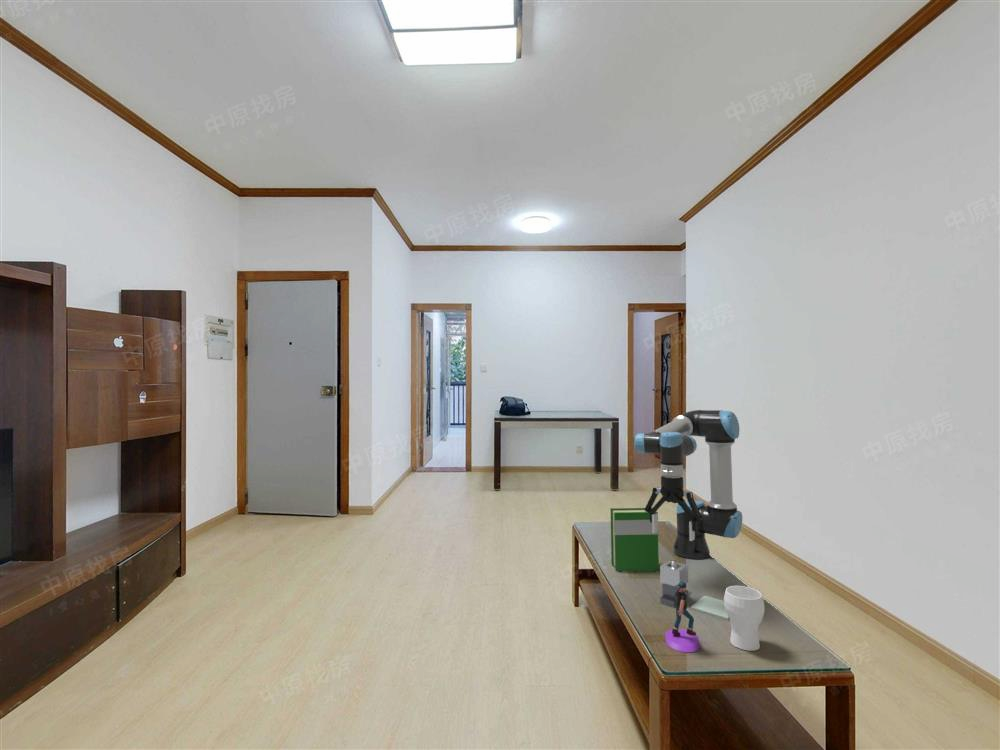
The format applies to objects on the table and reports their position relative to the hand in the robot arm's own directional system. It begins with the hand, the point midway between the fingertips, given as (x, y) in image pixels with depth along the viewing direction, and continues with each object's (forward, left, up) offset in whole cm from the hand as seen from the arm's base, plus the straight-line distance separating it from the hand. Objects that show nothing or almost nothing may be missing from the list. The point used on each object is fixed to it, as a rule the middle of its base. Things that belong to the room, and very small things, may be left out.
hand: (673, 536), depth 171 cm
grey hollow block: (0, 0, -16) cm, 16 cm away
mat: (-3, +13, -22) cm, 26 cm away
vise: (-2, 0, -22) cm, 22 cm away
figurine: (+26, +14, -23) cm, 37 cm away
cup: (+14, +27, -23) cm, 38 cm away
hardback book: (-18, -25, -23) cm, 38 cm away
